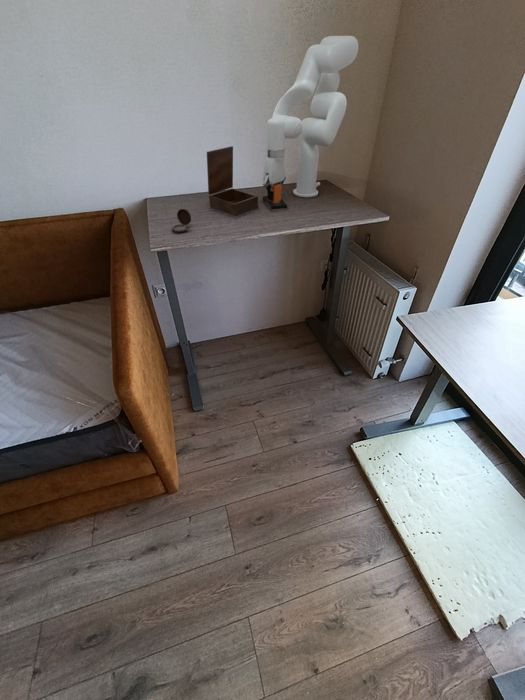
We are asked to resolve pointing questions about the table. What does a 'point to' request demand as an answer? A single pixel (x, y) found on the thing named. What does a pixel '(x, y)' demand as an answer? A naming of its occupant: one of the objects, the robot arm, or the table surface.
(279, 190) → the block
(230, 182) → the case lid
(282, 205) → the vhs tape
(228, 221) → the table surface
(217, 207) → the case
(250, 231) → the table surface
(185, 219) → the compass
